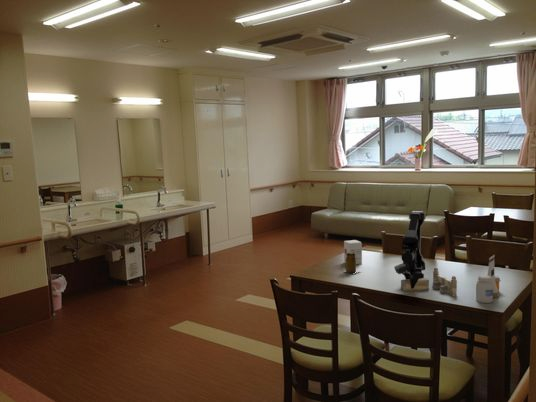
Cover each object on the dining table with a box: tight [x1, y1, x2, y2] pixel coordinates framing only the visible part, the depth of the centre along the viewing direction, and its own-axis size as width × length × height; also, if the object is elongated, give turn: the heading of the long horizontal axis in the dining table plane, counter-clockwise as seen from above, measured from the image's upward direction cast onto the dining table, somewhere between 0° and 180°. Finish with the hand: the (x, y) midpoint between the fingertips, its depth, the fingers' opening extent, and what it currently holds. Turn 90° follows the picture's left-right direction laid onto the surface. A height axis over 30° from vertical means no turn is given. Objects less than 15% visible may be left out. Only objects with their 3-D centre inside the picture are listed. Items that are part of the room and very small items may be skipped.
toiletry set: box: [475, 254, 501, 304], centre depth 234 cm, size 25×8×20 cm, turn 140°
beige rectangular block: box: [400, 277, 430, 292], centre depth 251 cm, size 4×14×5 cm, turn 99°
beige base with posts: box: [432, 267, 458, 297], centre depth 247 cm, size 20×5×10 cm, turn 9°
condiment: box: [345, 252, 357, 275], centre depth 287 cm, size 7×8×12 cm
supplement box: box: [343, 239, 363, 265], centre depth 309 cm, size 9×9×15 cm
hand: (410, 287), depth 251 cm, fingers closed on beige rectangular block, 4 cm apart
